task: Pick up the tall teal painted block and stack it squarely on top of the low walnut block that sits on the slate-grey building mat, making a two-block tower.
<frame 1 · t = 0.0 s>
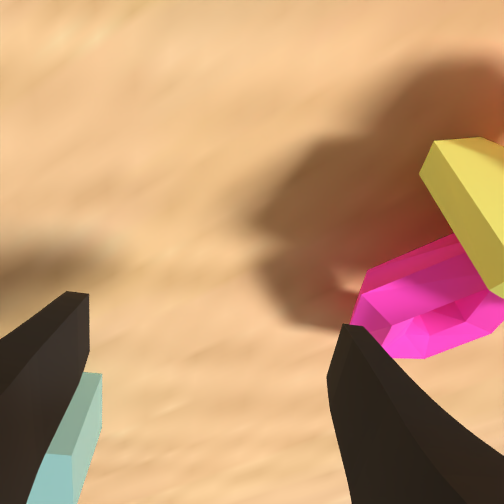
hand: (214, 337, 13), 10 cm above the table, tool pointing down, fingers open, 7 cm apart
toy: (478, 197, 23), on the table
teal block: (64, 397, 28), on the table
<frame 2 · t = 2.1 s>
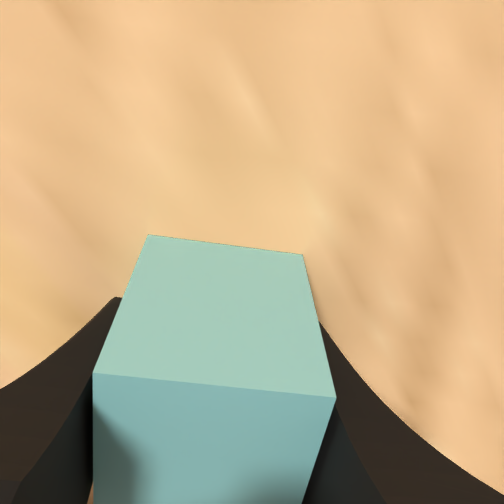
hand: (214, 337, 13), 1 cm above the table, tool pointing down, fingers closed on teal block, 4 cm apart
teal block: (216, 308, 15), on the table, touching gripper
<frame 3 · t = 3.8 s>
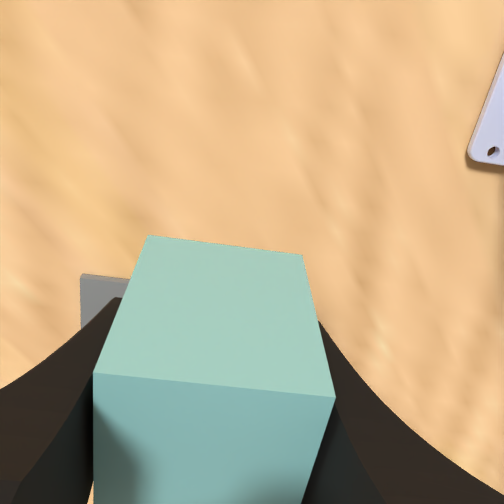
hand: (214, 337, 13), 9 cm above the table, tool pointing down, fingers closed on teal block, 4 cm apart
mat: (167, 353, 26), on the table
teal block: (216, 308, 15), point 8 cm above the table, touching gripper
when the fingers open (6 cm above the table, at t = 5.7 s): teal block stays where it is, resting on walnut block.
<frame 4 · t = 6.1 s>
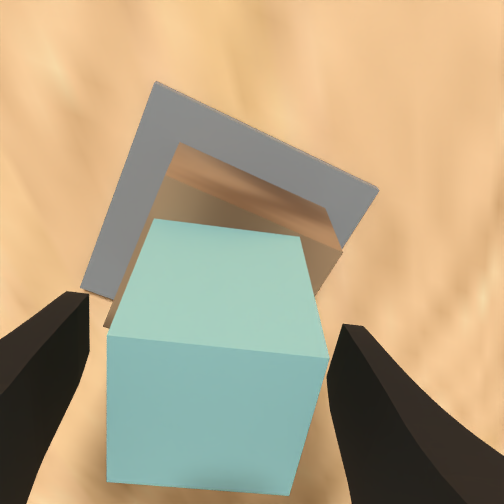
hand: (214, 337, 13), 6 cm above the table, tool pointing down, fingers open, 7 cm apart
walnut block: (220, 263, 17), on the mat, touching teal block
mat: (222, 236, 19), on the table
teal block: (219, 288, 15), point 4 cm above the table, touching walnut block
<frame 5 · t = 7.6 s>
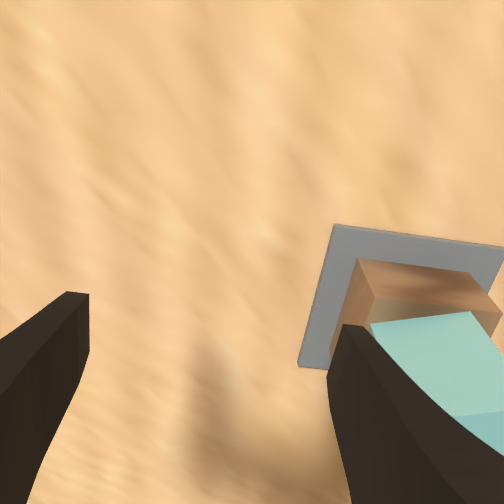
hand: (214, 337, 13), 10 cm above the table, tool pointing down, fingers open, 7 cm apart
walnut block: (406, 333, 24), on the mat, touching teal block
mat: (393, 308, 26), on the table
teal block: (418, 355, 22), point 4 cm above the table, touching walnut block
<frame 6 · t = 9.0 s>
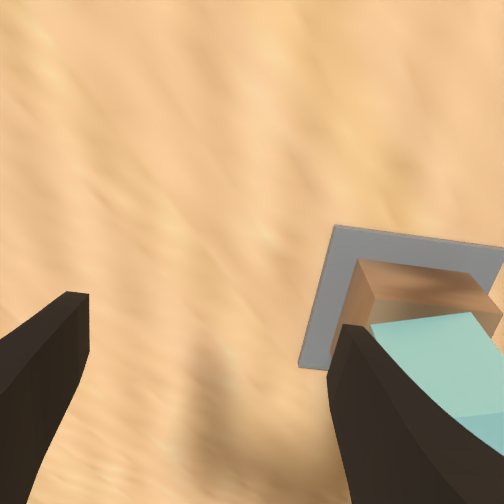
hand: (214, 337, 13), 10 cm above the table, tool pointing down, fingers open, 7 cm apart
walnut block: (406, 333, 24), on the mat, touching teal block
mat: (394, 308, 26), on the table
teal block: (419, 356, 22), point 4 cm above the table, touching walnut block
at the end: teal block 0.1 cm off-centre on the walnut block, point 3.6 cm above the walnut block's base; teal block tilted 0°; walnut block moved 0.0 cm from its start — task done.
